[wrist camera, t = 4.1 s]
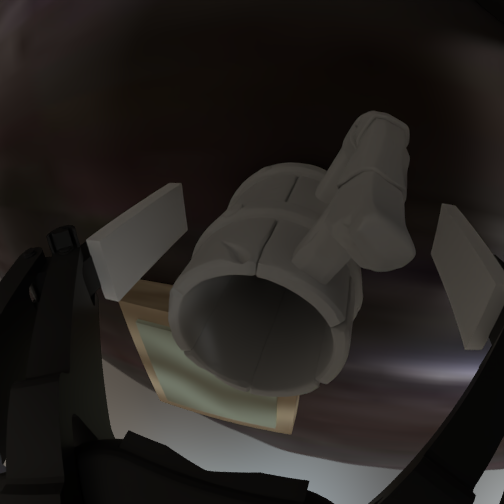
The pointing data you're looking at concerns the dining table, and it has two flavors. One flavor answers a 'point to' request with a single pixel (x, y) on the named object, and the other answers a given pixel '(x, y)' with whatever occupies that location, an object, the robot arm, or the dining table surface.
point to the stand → (193, 368)
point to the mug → (295, 264)
